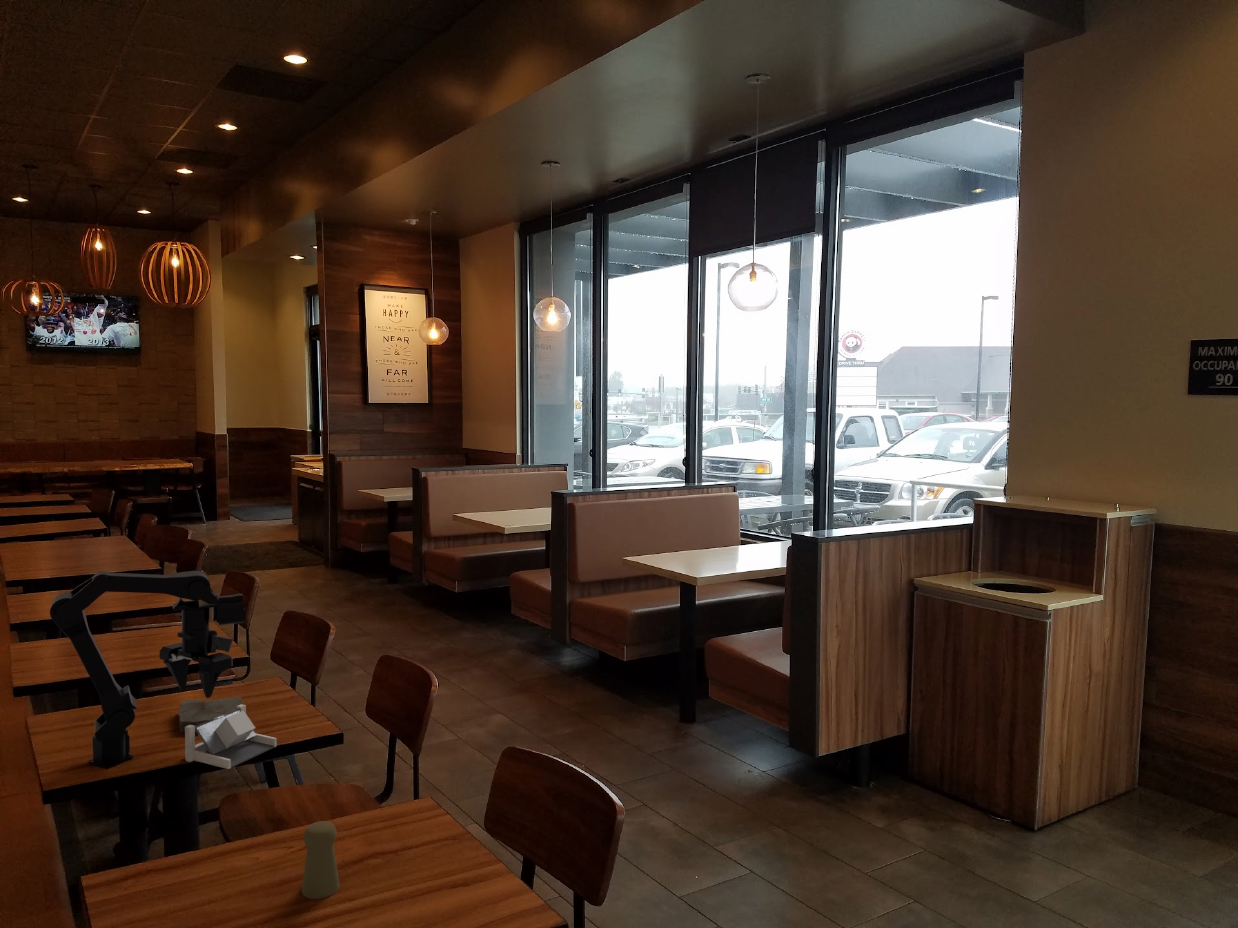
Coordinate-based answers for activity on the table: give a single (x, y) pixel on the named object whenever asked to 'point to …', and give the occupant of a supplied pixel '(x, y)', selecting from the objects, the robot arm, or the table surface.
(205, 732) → the trapdoor
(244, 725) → the light grey cube
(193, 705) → the marble piece
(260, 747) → the frame
